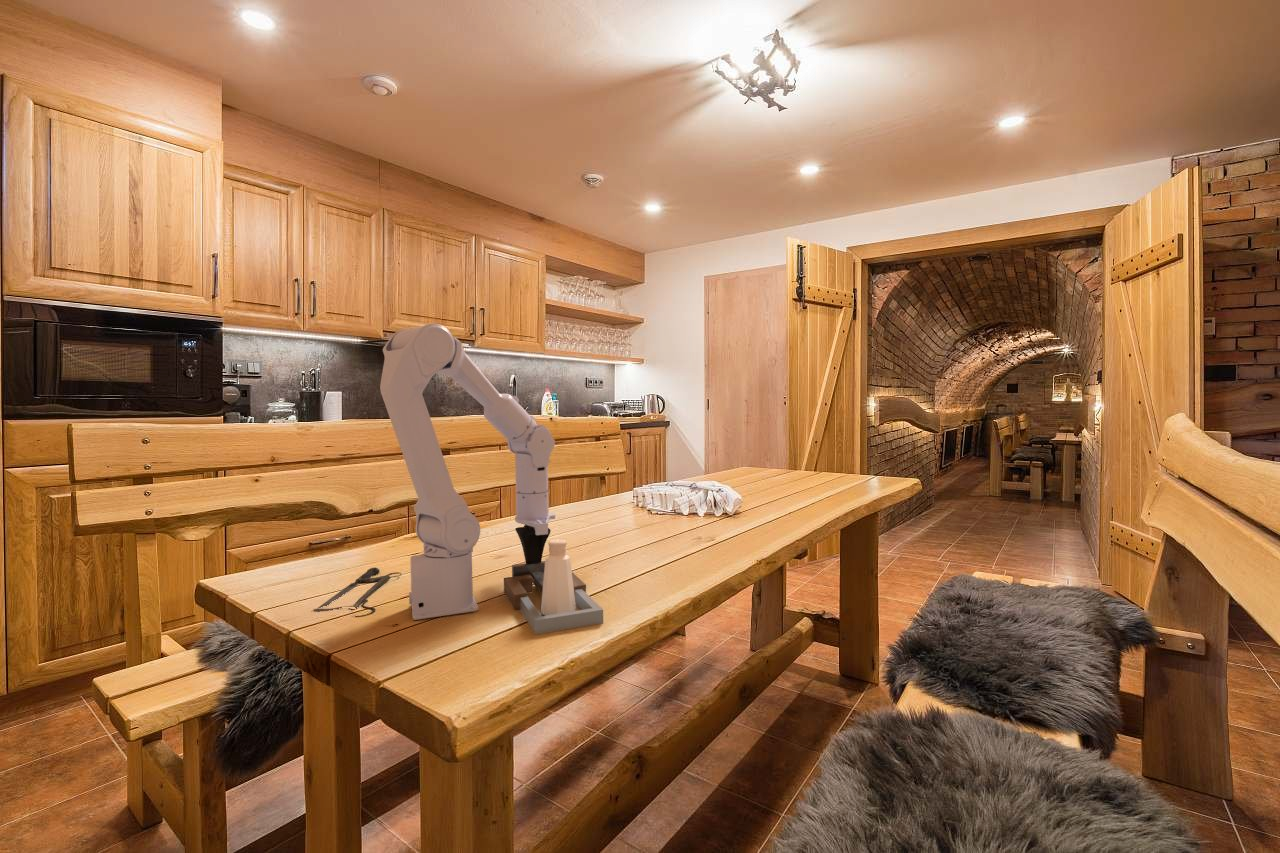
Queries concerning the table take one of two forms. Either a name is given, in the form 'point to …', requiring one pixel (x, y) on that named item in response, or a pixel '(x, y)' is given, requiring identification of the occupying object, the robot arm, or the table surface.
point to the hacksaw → (364, 578)
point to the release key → (531, 572)
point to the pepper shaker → (557, 581)
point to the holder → (528, 588)
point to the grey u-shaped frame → (563, 615)
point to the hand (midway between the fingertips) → (533, 566)
